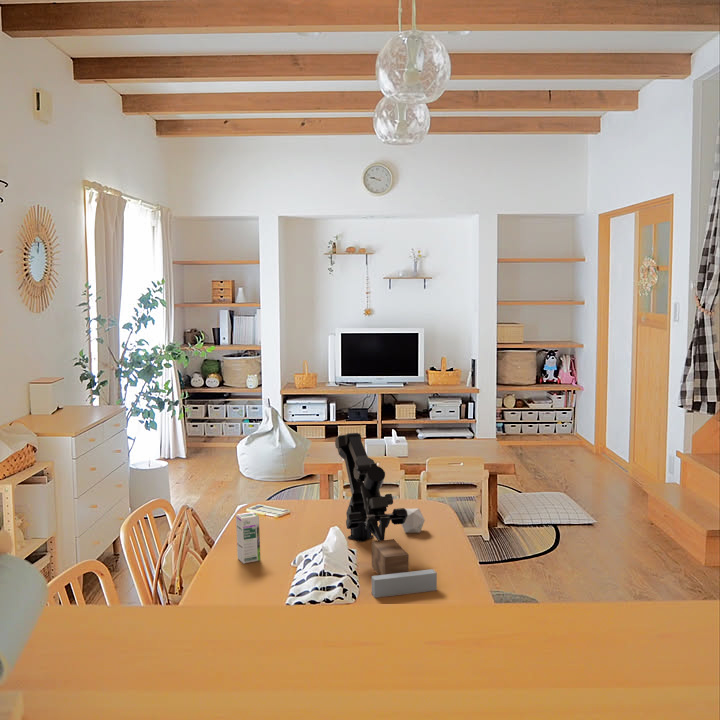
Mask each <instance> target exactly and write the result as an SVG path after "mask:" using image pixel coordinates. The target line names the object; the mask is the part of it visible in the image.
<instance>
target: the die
mask: <svg viewBox="0 0 720 720" xmlns="http://www.w3.org/2000/svg"><path fill="white" fill-rule="evenodd" d="M405 509H406V510H407V514H408V516H407V518H406V520H405V523H403V524H400V525H401V527H402V528H403V531H404V533H405V534H415V533H416V534H420V533H421V531H422V528H423V526H424V523H425V520H426V519H425V518H424V515H423V513H422V511H421V509H420V508H405Z"/></svg>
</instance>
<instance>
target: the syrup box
mask: <svg viewBox="0 0 720 720" xmlns="http://www.w3.org/2000/svg"><path fill="white" fill-rule="evenodd" d="M235 526H236V529H235V530H236V542H237V543H236V546H237V548H236V550H237V551H236V552H237V559H238V560H239V561H240V562H241V564H248V563H254V562H260V561H261V540H260V539H261V538H260V537H261V534H260V533H261V532H260V516H259V515H258V514H257V512H255V511H250V512H245V513H237V514H235Z"/></svg>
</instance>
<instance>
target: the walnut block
mask: <svg viewBox="0 0 720 720" xmlns="http://www.w3.org/2000/svg"><path fill="white" fill-rule="evenodd" d="M371 567H372V569H373V570H374V572H375V573H376V574H377V575H386V574H395V573H404V572H410V571H409V569H410V568H409V554H408V553H407V551H406V550H405V549H403V547H402V546H401V545H400V544H399V543H398V542H397V541H396V540H395V538H391V539H384V540H380V541H378V540H373V541H371Z"/></svg>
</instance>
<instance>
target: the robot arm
mask: <svg viewBox="0 0 720 720" xmlns="http://www.w3.org/2000/svg"><path fill="white" fill-rule="evenodd" d="M334 444H335V449H337V452H338V455H339V456H340V457H341V458H342V459H343V460H344V464H345V468H346V473H347V478H348V483H349V486H350V487H349V488H350V492H351V497H350V501H349V503H348V506H347V510H346V519H345V525H346V529H348V530H350V535H348V536H347V539H350V540H354V541H357V542H365V541H368V540H370V539H373V538H376V541H380V540H385V538H386V537H385V535H386V528H389V525H390V522H391V523H392V524H393V525H401V524H403V523H405V520H406V518H407V516H408V514H407V510H406V509H407V508H406V507H400V508H399V507H398V508H393V510H392V512H391V513H386V512H387V510H388V507H389V506H391V505H393V504H394V498H393V495H392V493H386V494H384V496H382V495H381V491H380V489H381V488H382V485H383V484H384V480H385V478H386V471H385V470H384V469H383V468H382V467H381V466H378V464H377V462H375V461H374V459H372V458H370V457H369V456H368V454H367V451H366V449H365V447H364V444H363V442H362V435H361V433H358V432H352V433H351V432H349V433H346V434H340V435H338V436H337V437H336V438H335V441H334Z"/></svg>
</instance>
